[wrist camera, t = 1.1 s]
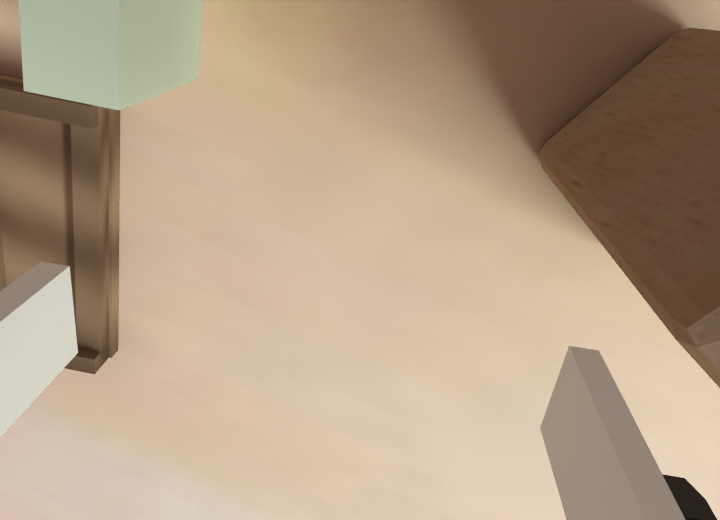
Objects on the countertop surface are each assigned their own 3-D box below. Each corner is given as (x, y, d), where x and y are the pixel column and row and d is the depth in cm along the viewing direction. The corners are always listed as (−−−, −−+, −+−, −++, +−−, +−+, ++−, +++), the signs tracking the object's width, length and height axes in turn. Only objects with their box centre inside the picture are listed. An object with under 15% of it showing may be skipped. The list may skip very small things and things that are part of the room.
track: (-31, 67, 34) (-70, 73, 31) (119, 98, 34) (94, 107, 31) (-6, 324, 41) (-35, 348, 38) (117, 349, 41) (97, 374, 39)
